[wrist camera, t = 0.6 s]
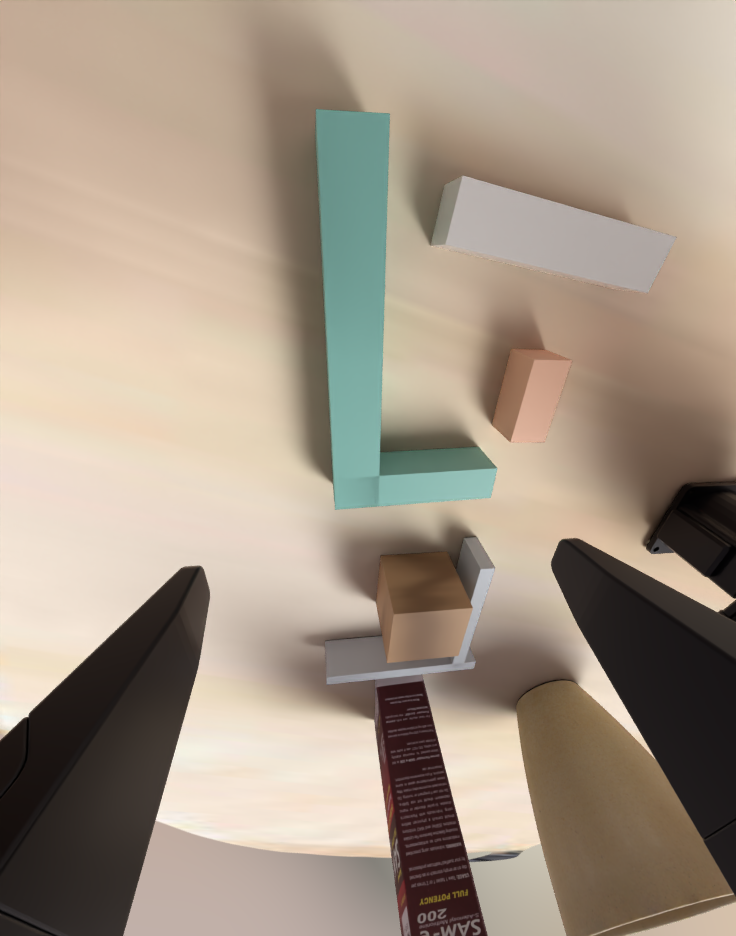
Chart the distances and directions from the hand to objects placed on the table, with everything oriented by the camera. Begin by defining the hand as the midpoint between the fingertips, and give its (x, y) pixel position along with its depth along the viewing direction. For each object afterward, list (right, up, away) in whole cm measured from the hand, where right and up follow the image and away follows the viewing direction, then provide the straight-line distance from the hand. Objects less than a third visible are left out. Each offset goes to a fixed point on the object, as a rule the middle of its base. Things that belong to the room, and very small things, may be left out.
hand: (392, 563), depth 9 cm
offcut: (+8, +7, +11) cm, 16 cm away
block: (+3, -6, +18) cm, 19 cm away
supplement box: (+2, -21, +27) cm, 34 cm away
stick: (+7, +13, +8) cm, 17 cm away
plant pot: (+20, -24, +32) cm, 44 cm away
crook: (+2, +9, +9) cm, 13 cm away
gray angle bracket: (+2, -8, +19) cm, 21 cm away
